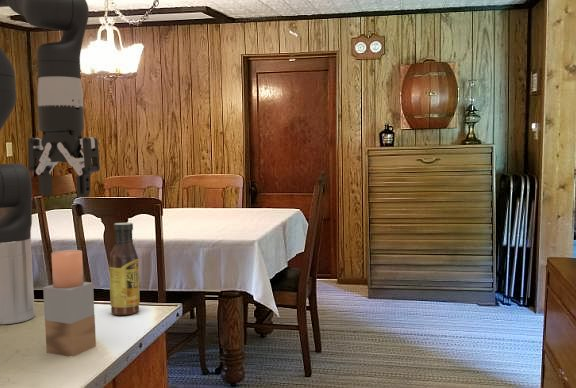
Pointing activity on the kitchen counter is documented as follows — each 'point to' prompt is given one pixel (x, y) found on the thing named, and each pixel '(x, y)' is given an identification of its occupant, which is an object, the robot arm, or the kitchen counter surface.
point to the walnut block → (70, 336)
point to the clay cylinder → (67, 268)
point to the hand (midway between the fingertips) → (64, 196)
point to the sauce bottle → (124, 272)
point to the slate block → (68, 303)
